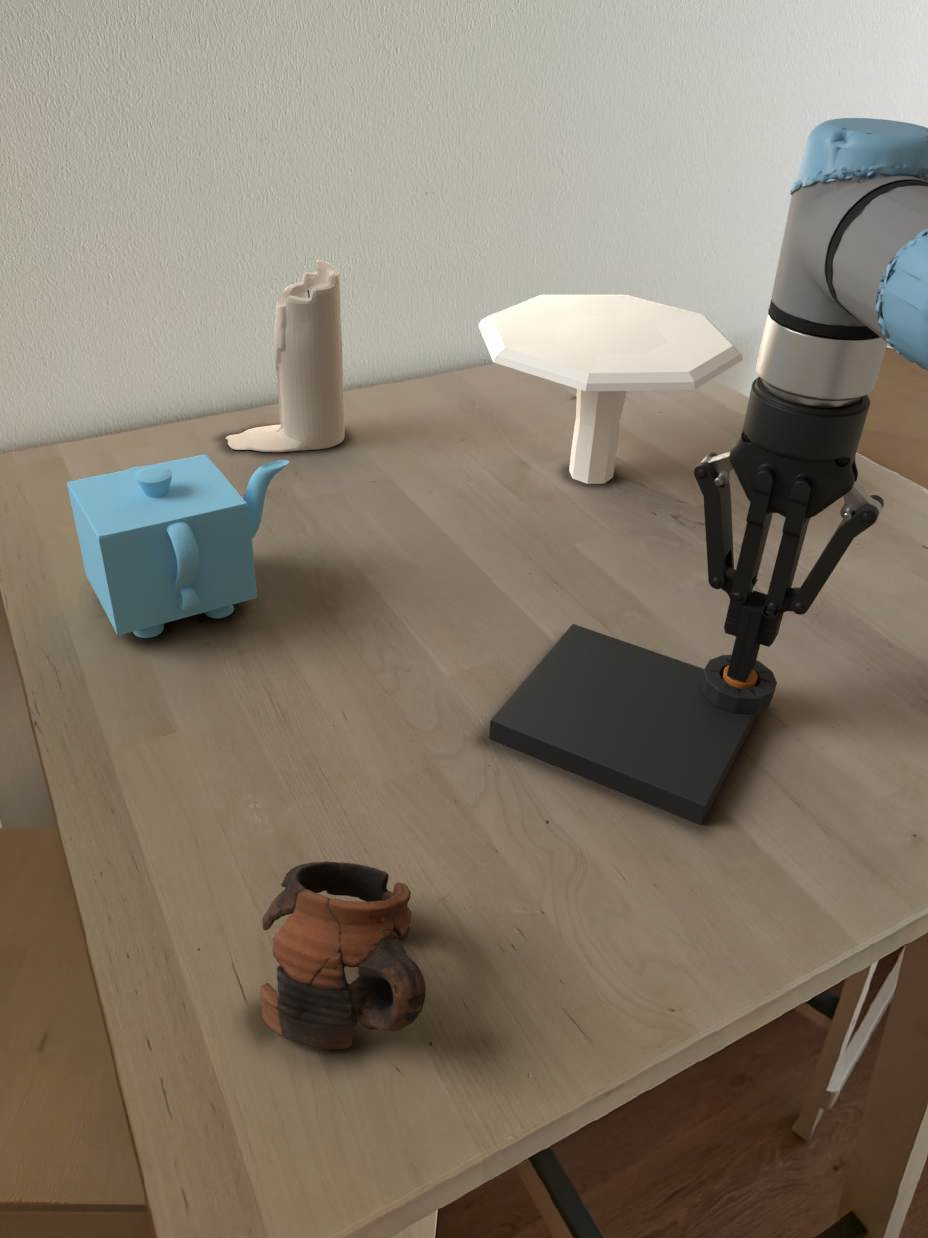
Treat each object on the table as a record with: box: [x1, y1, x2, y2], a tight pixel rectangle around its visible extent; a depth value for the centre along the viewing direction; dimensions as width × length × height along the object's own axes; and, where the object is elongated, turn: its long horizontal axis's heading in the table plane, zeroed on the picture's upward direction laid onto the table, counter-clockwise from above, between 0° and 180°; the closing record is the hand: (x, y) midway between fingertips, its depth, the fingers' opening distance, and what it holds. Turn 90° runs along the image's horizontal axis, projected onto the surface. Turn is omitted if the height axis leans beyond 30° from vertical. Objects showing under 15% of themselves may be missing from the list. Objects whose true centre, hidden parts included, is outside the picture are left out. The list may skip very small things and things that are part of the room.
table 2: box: [477, 293, 744, 485], centre depth 110 cm, size 28×28×17 cm
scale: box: [488, 623, 778, 825], centre depth 79 cm, size 18×16×4 cm
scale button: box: [722, 665, 757, 689], centre depth 80 cm, size 3×3×2 cm
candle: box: [225, 259, 346, 453], centre depth 113 cm, size 7×14×20 cm, turn 105°
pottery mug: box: [259, 861, 427, 1050], centre depth 58 cm, size 12×10×8 cm
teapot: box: [66, 453, 290, 639], centre depth 88 cm, size 18×16×13 cm
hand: (741, 669), depth 79 cm, fingers closed
